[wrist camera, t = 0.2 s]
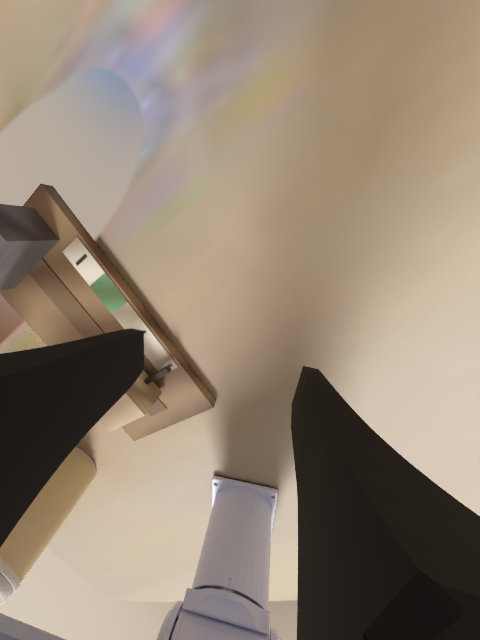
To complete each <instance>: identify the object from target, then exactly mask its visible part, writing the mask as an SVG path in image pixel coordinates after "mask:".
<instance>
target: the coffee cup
mask: <svg viewBox="0 0 480 640" xmlns="http://www.w3.org/2000/svg"><path fill="white" fill-rule="evenodd" d="M95 475H96V467H95V464H94V462H93V461H92V459H91V458H90V457H89V456H88V455H87V454H86V453H85V452H84V451H82V450H81V449H79V448H78V447H76V446H75V448H74V449H73V450H72V451H71V453H70V454H69V455H68V456H67V457H66V459H65V460H64V461H63V462H62V464H61V465H60V466H59V468H58V469H57V470H56V472H55V473H54V474H53V475H52V477H51V478H50V479H49V481H48V482H47V483H46V485H45V486H44V487H43V488H42V490H41V491H40V492H39V494H38V495H37V497H36V498H35V499H34V501H33V502H32V504H31V505H30V506H29V508H28V509H27V510H26V512H25V513H24V515H23V516H22V517H21V519H20V520H19V521H18V523H17V524H16V526H15V527H14V529H13V530H12V531H11V533H10V534H9V536H8V537H7V539H6V540H5V542H4V543H3V545H2V546H1V548H0V605H1V604H3V603H4V602H5V601H6V600H7V599H8V597H10V596H12V595H14V594H15V592H16V591H17V590H18V588H19V586H20V583H21V581H22V580H23V579H24V577H25V576H26V575H27V573H28V572H29V570H30V569H31V568H32V566H33V565H34V563H35V562H36V560H37V559H38V558H39V556H40V555H41V554H42V552H43V550H44V549H45V548H46V546H47V545H48V544H49V542H50V541H51V539H52V538H53V536H54V535H55V534H56V532H57V531H58V529H59V528H60V526H61V525H62V523H63V522H64V521H65V519H66V518H67V516H68V515H69V513H70V512H71V511H72V509H73V508H74V506H75V505H76V503H77V502H78V500H79V499H80V498H81V496H82V495H83V493H84V492H85V490H86V489H87V487H88V486H89V485H90V483H91V482H92V480H93V478H94V477H95Z"/></svg>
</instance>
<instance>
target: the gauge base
mask: <svg viewBox="0 0 480 640" xmlns="http://www.w3.org/2000/svg"><path fill="white" fill-rule="evenodd" d="M0 294H1V295H2V296H3V297H4V298H5V299H6V300H7V302H8V303H9V304H10V305H11V306H12V307H13V308H14V309H15V310H16V311H17V313H18V314H19V315H20V316H21V317H22V318H23V319H24V320H25V321H26V322H27V324H28V325H29V326H30V327H31V328H32V329H33V330H34V331H35V332H36V333H37V335H38V336H39V337H40V338H41V339H42V340H43V341H44V342H45V343H46V344H47V346H51V345H56V344H61V343H65V342H70V341H75V340H79V339H83V338H88V337H92V336H96V335H100V334H104V333H109V332H113V331H118V330H123V329H130V328H132V329H137V330H142V331H144V371H145V372H146V373H147V374H148V376H151V375H152V374H154V373H156V372H158V371H160V370H161V369H163V368H165V367H167V366H169V367H170V368H171V369H172V370H171V371H170V373H168V374H166V375H164V376H162V377H160V378H159V379H157V380H155V381H153V382H154V383H155V384H156V385H157V387H158V388H159V389H160V390H161V391H162V394H161V395H160V397H159V398H158V399H157V401H156V402H155V403H154V404H153V406H152V407H151V408H150V410H149V411H148V412H147V414H146V415H145V416H143V417H141V418H139V419H137V420H135V421H132V422H130V423H128V424H126V425H124V426H122V428H123V429H124V430H125V431H126V432H127V434H128V435H129V436H130V437H131V438H132V439H133V440H134V441H135V440H138V439H140V438H143V437H145V436H147V435H150V434H152V433H154V432H157V431H159V430H161V429H164V428H166V427H168V426H171V425H173V424H176V423H178V422H180V421H183V420H185V419H187V418H190V417H192V416H194V415H197V414H199V413H201V412H204V411H206V410H209V409H211V408H213V407H214V404H215V402H216V400H215V399H214V397H213V396H212V395H211V394H210V392H209V391H208V390H207V388H206V387H205V386H204V384H203V383H202V382H201V380H200V379H199V378H198V376H197V375H196V374H195V372H194V371H193V370H192V369H191V367H190V366H189V365H188V363H187V362H186V361H185V359H184V358H183V357H182V355H181V354H180V353H179V351H178V350H177V349H176V348H175V346H174V345H173V344H172V342H171V341H170V340H169V338H168V337H167V336H166V334H165V333H164V332H163V330H162V329H161V328H160V327H159V325H158V324H157V323H156V321H155V320H154V319H153V317H152V316H151V315H150V313H149V312H148V311H147V309H146V308H145V307H144V305H143V304H142V303H141V302H140V300H139V299H138V298H137V296H136V295H135V294H134V292H133V291H132V290H131V288H130V287H129V286H128V284H127V283H126V282H125V281H124V279H123V278H122V277H121V275H120V274H119V273H118V271H117V270H116V269H115V267H114V266H113V265H112V263H111V262H110V261H109V260H108V258H107V257H106V256H105V254H104V253H103V252H102V250H101V249H100V248H99V246H98V245H97V244H96V242H95V241H94V240H93V239H92V237H91V236H90V235H89V233H88V232H87V231H86V229H85V228H84V227H83V225H82V224H81V223H80V221H79V220H78V219H77V218H76V216H75V215H74V214H73V212H72V211H71V210H70V208H69V207H68V206H67V204H66V203H65V202H64V200H63V199H62V198H61V196H60V195H59V194H58V193H57V191H56V190H55V189H54V187H53V186H49V185H44V184H40V186H39V187H38V188H37V189H36V190H35V192H34V193H33V194H32V195H31V197H30V198H29V199H28V201H27V202H26V203H25V204H24V206H23V207H22V206H13V205H12V206H11V205H3V204H0Z"/></svg>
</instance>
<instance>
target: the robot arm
mask: <svg viewBox="0 0 480 640" xmlns="http://www.w3.org/2000/svg"><path fill="white" fill-rule="evenodd" d="M143 370H144V331H142V330H137V329H132V328H130V329H123V330H118V331H113V332H109V333H104V334H100V335H96V336H92V337H88V338H83V339H79V340H75V341H70V342H65V343H61V344H56V345H51V346H47V347H41V348H36V349H30V350H24V351H17V352H11V353H4V354H0V548H1V546H2V545H3V543H4V542H5V540H6V539H7V537H8V536H9V534H10V533H11V531H12V530H13V529H14V527H15V526H16V524H17V523H18V521H19V520H20V519H21V517H22V516H23V515H24V513H25V512H26V510H27V509H28V508H29V506H30V505H31V504H32V502H33V501H34V499H35V498H36V497H37V495H38V494H39V492H40V491H41V490H42V488H43V487H44V486H45V485H46V483H47V482H48V481H49V479H50V478H51V477H52V475H53V474H54V473H55V472H56V470H57V469H58V468H59V466H60V465H61V464H62V462H63V461H64V460H65V459H66V457H67V456H68V455H69V454H70V453H71V451H72V450H73V449H74V448H75V446H76V445H77V444H78V443H79V441H80V440H81V439H82V438H83V437H84V436H85V435H86V433H87V432H88V431H89V430H90V429H91V428H92V427H93V426H94V425H95V424H96V423H97V422H98V421H99V420H100V419H101V418H102V417H103V416H104V415H105V414H106V413H107V412H108V410H109V409H110V408H111V407H112V406H113V405H114V404H115V403H116V402H117V401H118V400H119V399H120V398H121V397H122V396H123V395H124V394H125V393H126V392H127V391H128V390H129V389H130V388H131V387H132V385H133V384H134V383H135V381H136V380H137V379H138V377H139V376H140V374H141V373H142V372H143ZM291 429H292V440H293V450H294V460H295V470H296V480H297V494H298V613H297V614H298V616H297V640H480V516H478V515H477V514H476V513H474V512H473V511H471V510H470V509H469V508H467V507H466V506H464V505H463V504H462V503H460V502H459V501H458V500H456V499H455V498H454V497H452V496H451V495H450V494H448V493H447V492H446V491H444V490H443V489H442V488H440V487H439V486H438V485H436V484H435V483H434V482H433V481H431V480H430V479H429V478H428V477H426V476H425V475H424V474H423V473H421V472H420V471H419V470H418V469H416V468H415V467H414V466H413V465H411V464H410V463H409V462H408V461H407V460H406V459H404V458H403V457H402V456H401V455H400V454H398V453H397V452H396V451H395V450H394V449H393V448H392V447H391V446H390V445H388V444H387V443H386V442H385V441H384V440H383V439H382V438H381V437H380V436H379V435H377V434H376V433H375V432H374V431H373V430H372V429H371V428H370V427H369V426H368V425H367V424H366V423H365V422H364V421H363V420H362V419H361V418H360V417H359V416H358V414H357V413H356V412H355V411H354V410H353V409H352V408H351V407H350V406H349V405H348V404H347V403H346V401H345V400H344V399H343V398H342V397H341V396H340V395H339V393H338V392H337V391H336V390H335V389H334V387H333V386H332V385H331V384H330V383H329V381H328V380H327V379H326V378H325V377H324V375H323V374H322V373H321V372H320V371H319V370H318V369H314V368H310V367H305V366H303V369H302V372H301V375H300V379H299V382H298V385H297V389H296V392H295V396H294V399H293V402H292V416H291ZM277 499H278V491H277V490H276V489H274V488H269V487H265V486H260V485H256V484H251V483H246V482H242V481H237V480H232V479H228V478H223V477H218V476H214V477H213V479H212V512H211V516H210V520H209V524H208V528H207V532H206V535H205V539H204V543H203V547H202V551H201V555H200V559H199V563H198V567H197V570H196V574H195V578H194V582H193V586H192V589H190V588H187V591H186V595H185V598H184V602H182V601H178V602H177V603H176V604H175V605H174V607H173V608H172V609H171V610H170V611H169V612H168V614H167V616H166V617H165V619H164V622H163V624H162V627H161V629H160V632H159V634H158V637H157V640H281V639H280V637H279V636H278V631H277V630H276V629H274V628H270V636H269V619H270V612H269V611H268V596H269V571H270V545H271V535H272V529H273V523H274V517H275V511H276V505H277ZM0 640H65V639H63V638H60V637H58V636H55V635H53V634H50V633H48V632H45V631H43V630H40V629H38V628H36V627H33V626H30V625H28V624H25V623H23V622H21V621H18V620H15V619H13V618H11V617H8V616H6V615H3V614H1V613H0Z"/></svg>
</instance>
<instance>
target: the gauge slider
mask: <svg viewBox="0 0 480 640" xmlns="http://www.w3.org/2000/svg"><path fill="white" fill-rule="evenodd" d="M171 370H172V369H171V368H170V367H169V366H167V367H165V368H163V369H161V370H160V371H158V372H156V373H154V374H152V375H151V376H148V374H147V373H146V372H145V371H144V370H143V372H142V373H141V374H140V376H139V377H138V379H137V380H136V381H135V383H134V384H133V385H132V387H131V388H130V389H129V390H128V391H127V392H126V393H125V394H124V395H123V396H122V397H121V398H120V399H119V400H118V401H117V402H116V403H115V404H114V405H113V406H112V407H111V408H110V409H109V410H108V412H107V413H106V414H105V415H104V416H103V417H102V418H101V419H100V420H99V422H100V423H101V424H102V425H103V426H104V427H105V428H106V429H107V430H108V431H109V432H111V431H113V430H115V429H117V428H120V427H122V426H124V425H126V424H128V423H130V422H132V421H135V420H137V419H139V418H141V417H143V416H145V415H146V414H147V412H148V411H149V410H150V408H151V407H152V406H153V404H154V403H155V402H156V401H157V399H158V398H159V397H160V395H161V394H162V391H161V390H160V389H159V388H158V387H157V385H156V384H155V383H154V382H153V381H155V380H157V379H159V378H160V377H162V376H164V375H166V374H168V373H170V371H171Z"/></svg>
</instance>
